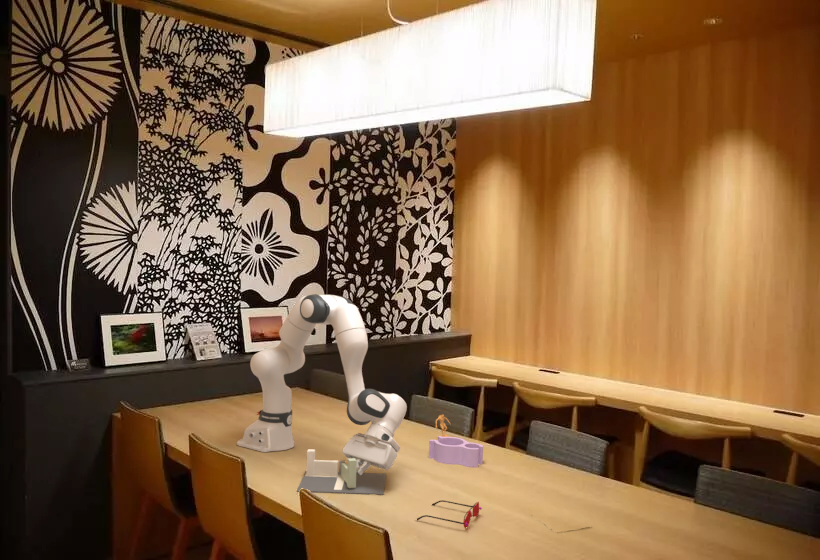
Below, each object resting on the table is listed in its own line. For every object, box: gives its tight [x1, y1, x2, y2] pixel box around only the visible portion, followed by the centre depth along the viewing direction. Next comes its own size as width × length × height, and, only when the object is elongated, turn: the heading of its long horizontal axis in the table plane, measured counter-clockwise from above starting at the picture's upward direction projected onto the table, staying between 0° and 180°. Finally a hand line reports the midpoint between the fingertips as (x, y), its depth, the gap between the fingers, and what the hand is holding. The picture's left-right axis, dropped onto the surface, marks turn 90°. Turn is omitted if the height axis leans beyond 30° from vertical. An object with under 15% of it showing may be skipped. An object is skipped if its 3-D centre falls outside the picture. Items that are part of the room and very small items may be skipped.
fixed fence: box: [306, 448, 340, 477], centre depth 231 cm, size 11×2×9 cm, turn 90°
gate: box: [338, 458, 357, 488], centre depth 226 cm, size 14×2×9 cm, turn 21°
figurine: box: [435, 414, 451, 437], centre depth 275 cm, size 8×6×12 cm
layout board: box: [296, 470, 387, 496], centre depth 226 cm, size 28×19×1 cm
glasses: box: [416, 500, 483, 529], centre depth 201 cm, size 14×16×5 cm
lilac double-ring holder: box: [428, 435, 484, 468], centre depth 255 cm, size 20×12×7 cm, turn 59°
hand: (357, 473), depth 222 cm, fingers closed
